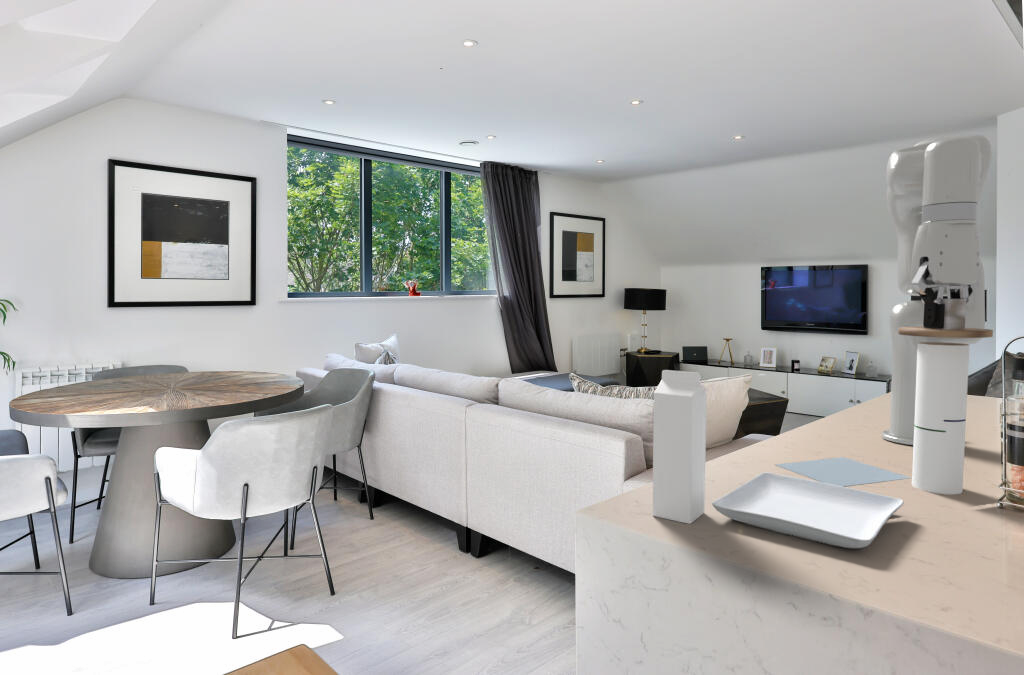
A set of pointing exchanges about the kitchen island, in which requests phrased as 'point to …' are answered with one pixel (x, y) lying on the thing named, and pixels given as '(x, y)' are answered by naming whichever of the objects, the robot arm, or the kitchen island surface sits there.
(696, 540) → the kitchen island surface
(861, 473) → the mat
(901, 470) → the kitchen island surface
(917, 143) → the robot arm
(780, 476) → the salad plate
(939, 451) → the cylindrical container
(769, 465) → the kitchen island surface
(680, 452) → the milk
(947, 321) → the lid
